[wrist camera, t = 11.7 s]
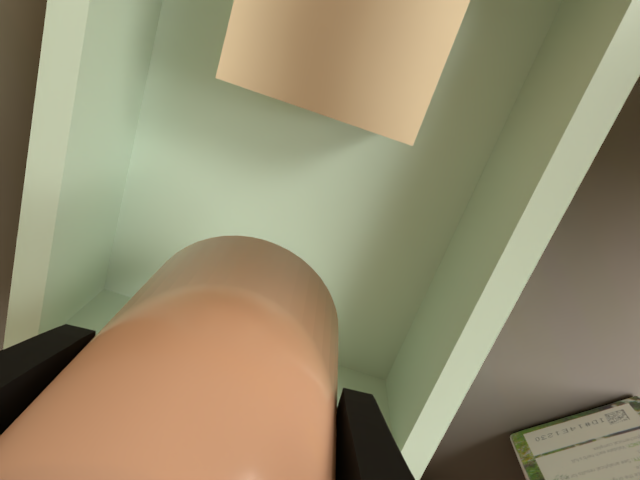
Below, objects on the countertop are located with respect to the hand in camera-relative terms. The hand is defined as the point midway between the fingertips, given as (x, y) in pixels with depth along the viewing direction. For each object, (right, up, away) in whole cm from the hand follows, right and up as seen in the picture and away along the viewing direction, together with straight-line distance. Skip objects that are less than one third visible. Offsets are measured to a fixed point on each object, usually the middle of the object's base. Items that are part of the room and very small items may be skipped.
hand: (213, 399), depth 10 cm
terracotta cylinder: (0, +1, +2) cm, 3 cm away
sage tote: (+2, +7, +8) cm, 10 cm away
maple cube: (+3, +10, +6) cm, 12 cm away
